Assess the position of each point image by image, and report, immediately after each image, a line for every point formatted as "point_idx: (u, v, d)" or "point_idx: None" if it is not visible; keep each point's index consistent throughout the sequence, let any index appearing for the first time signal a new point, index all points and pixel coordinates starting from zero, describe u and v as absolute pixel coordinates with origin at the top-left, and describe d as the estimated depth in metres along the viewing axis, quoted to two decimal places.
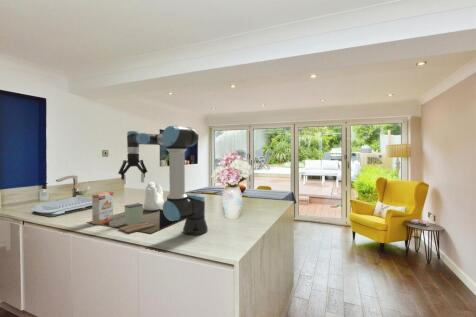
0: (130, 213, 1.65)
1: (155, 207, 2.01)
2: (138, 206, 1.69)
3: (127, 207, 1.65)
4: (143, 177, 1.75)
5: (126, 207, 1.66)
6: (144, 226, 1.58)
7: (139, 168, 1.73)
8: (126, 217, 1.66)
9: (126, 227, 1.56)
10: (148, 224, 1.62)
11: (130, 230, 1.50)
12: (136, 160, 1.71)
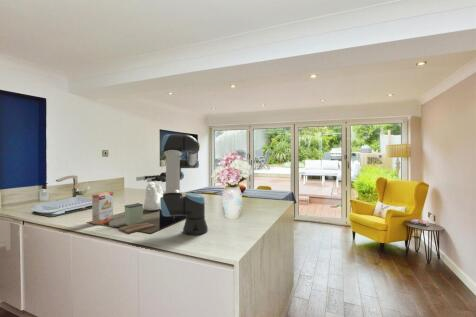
0: (130, 213, 1.65)
1: (155, 207, 2.01)
2: (138, 206, 1.69)
3: (127, 207, 1.65)
4: (151, 177, 1.73)
5: (126, 207, 1.66)
6: (144, 226, 1.58)
7: None
8: (126, 217, 1.66)
9: (126, 227, 1.56)
10: (148, 224, 1.62)
11: (130, 230, 1.50)
12: (162, 176, 1.86)
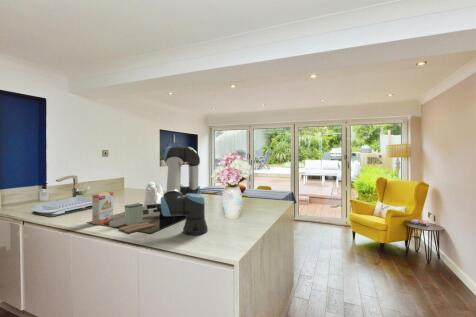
0: (130, 213, 1.65)
1: None
2: (138, 206, 1.69)
3: (127, 207, 1.65)
4: (153, 208, 1.75)
5: (126, 207, 1.66)
6: (144, 226, 1.58)
7: None
8: (126, 217, 1.66)
9: (126, 227, 1.56)
10: (148, 224, 1.62)
11: (130, 230, 1.50)
12: None
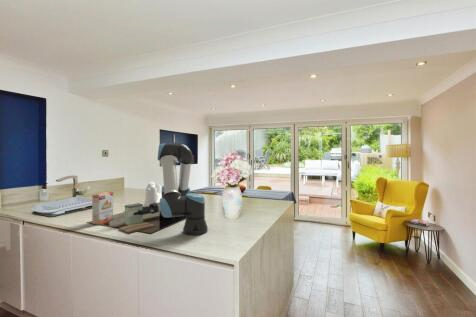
0: None
1: None
2: (138, 206, 1.69)
3: (127, 207, 1.65)
4: None
5: (126, 207, 1.66)
6: (144, 226, 1.58)
7: (143, 210, 1.73)
8: (126, 217, 1.66)
9: (126, 227, 1.56)
10: (148, 224, 1.62)
11: (130, 230, 1.50)
12: (151, 207, 1.79)
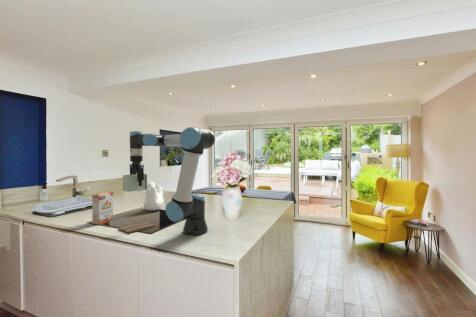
0: None
1: (155, 207, 2.01)
2: None
3: None
4: None
5: None
6: (144, 226, 1.58)
7: (135, 173, 1.59)
8: None
9: (126, 227, 1.56)
10: (148, 224, 1.62)
11: (130, 230, 1.50)
12: None
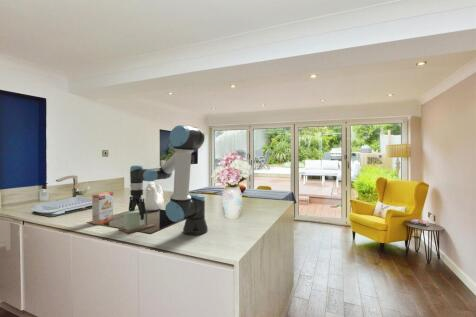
0: None
1: (155, 207, 2.01)
2: None
3: None
4: None
5: None
6: (144, 226, 1.58)
7: (134, 205, 1.60)
8: None
9: None
10: (148, 224, 1.62)
11: (130, 230, 1.50)
12: None
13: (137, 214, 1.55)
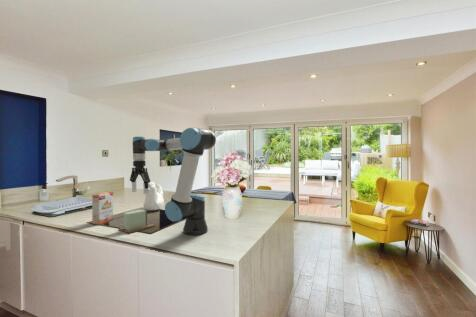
0: None
1: (155, 207, 2.01)
2: None
3: None
4: None
5: None
6: (144, 226, 1.58)
7: (136, 176, 1.61)
8: None
9: None
10: (148, 224, 1.62)
11: (130, 230, 1.50)
12: None
13: (137, 214, 1.55)
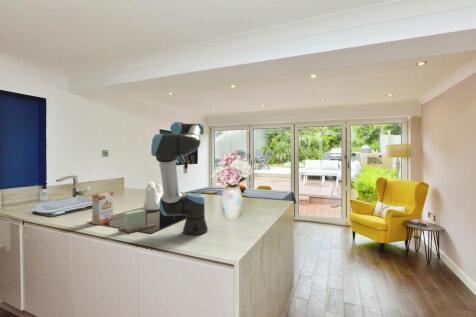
0: None
1: (155, 207, 2.01)
2: None
3: None
4: None
5: None
6: (144, 226, 1.58)
7: None
8: None
9: None
10: (148, 224, 1.62)
11: (130, 230, 1.50)
12: None
13: (137, 214, 1.55)
